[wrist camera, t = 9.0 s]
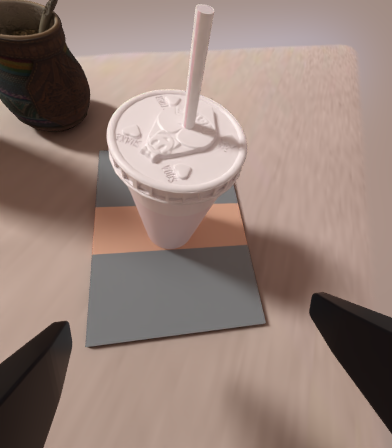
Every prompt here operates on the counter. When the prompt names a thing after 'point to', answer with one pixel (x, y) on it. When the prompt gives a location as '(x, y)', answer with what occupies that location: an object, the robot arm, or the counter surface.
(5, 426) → the robot arm
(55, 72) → the mate gourd
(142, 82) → the counter surface
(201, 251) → the slate board
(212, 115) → the smoothie
